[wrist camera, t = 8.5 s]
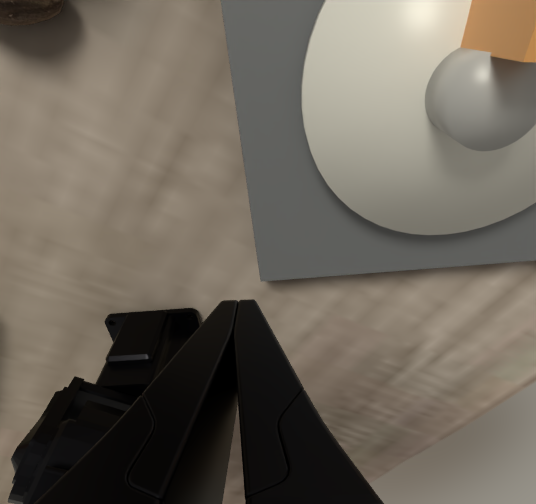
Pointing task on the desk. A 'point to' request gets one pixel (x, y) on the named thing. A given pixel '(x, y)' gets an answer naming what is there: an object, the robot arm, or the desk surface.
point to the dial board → (309, 177)
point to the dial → (424, 110)
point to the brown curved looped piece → (28, 11)
